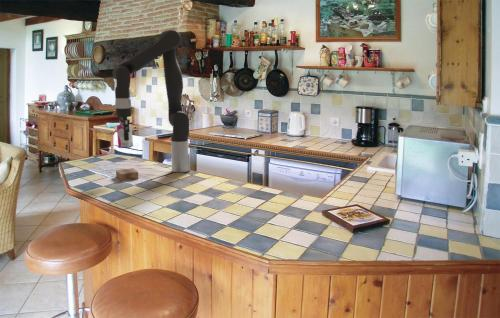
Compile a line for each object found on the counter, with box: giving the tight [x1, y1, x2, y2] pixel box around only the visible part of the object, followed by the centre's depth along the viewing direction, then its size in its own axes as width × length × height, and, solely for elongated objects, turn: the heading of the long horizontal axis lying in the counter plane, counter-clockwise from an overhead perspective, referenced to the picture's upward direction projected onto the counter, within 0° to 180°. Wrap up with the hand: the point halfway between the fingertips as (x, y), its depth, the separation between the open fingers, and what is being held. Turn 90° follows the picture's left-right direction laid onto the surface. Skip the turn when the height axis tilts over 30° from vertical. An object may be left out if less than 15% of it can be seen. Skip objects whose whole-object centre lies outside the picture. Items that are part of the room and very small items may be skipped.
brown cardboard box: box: [115, 168, 139, 182], centre depth 213 cm, size 9×9×4 cm
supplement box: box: [116, 123, 134, 149], centre depth 208 cm, size 6×6×12 cm
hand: (125, 139), depth 209 cm, fingers closed on supplement box, 7 cm apart
